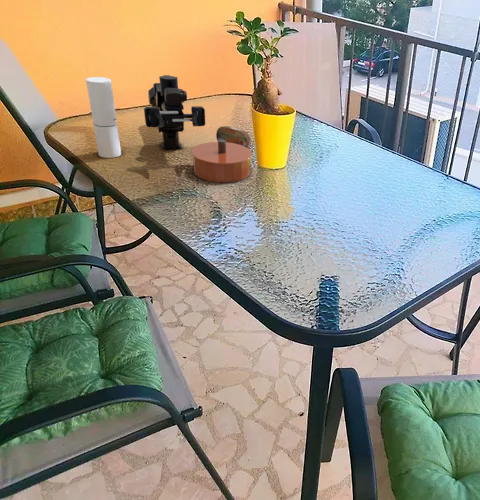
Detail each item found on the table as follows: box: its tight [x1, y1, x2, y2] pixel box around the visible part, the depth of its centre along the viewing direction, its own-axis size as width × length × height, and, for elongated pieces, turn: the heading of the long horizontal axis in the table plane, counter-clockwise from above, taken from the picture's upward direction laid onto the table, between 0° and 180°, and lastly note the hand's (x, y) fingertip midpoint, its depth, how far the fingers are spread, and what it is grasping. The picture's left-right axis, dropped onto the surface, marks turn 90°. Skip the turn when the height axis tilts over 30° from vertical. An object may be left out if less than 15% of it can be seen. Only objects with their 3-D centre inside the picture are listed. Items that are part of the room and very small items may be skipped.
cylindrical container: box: [85, 76, 122, 159], centre depth 155 cm, size 7×7×25 cm
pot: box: [192, 156, 252, 183], centre depth 159 cm, size 19×19×6 cm
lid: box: [191, 139, 253, 165], centre depth 156 cm, size 20×20×5 cm
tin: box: [215, 125, 252, 149], centre depth 177 cm, size 15×3×8 cm, turn 62°
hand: (179, 124), depth 147 cm, fingers open, 9 cm apart
